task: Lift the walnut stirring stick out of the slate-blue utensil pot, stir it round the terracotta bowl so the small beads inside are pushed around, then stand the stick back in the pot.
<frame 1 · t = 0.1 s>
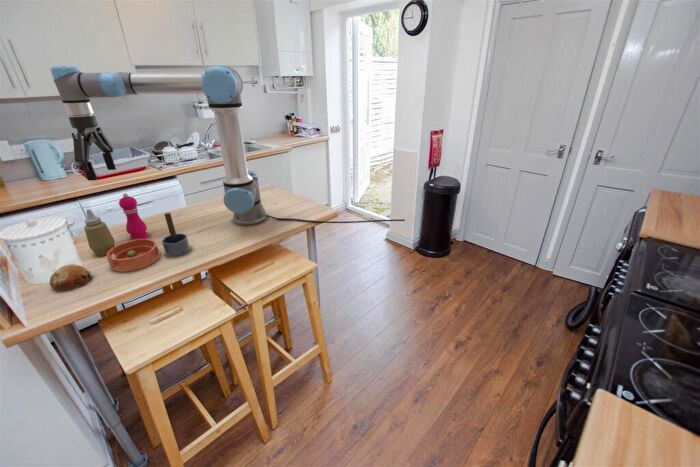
hand: (103, 174, 121), 28 cm above the table, tool pointing down, fingers open, 13 cm apart
bead a: (131, 254, 118), point 2 cm above the table, touching bowl
pepper mill: (140, 238, 134), on the table
bowl: (136, 261, 118), on the table
bread roll: (74, 282, 106), on the table
bead b: (138, 259, 115), point 2 cm above the table, touching bowl
squeeze bottle: (105, 252, 124), on the table
utensil pot: (178, 252, 124), on the table
stick: (178, 251, 124), resting on utensil pot
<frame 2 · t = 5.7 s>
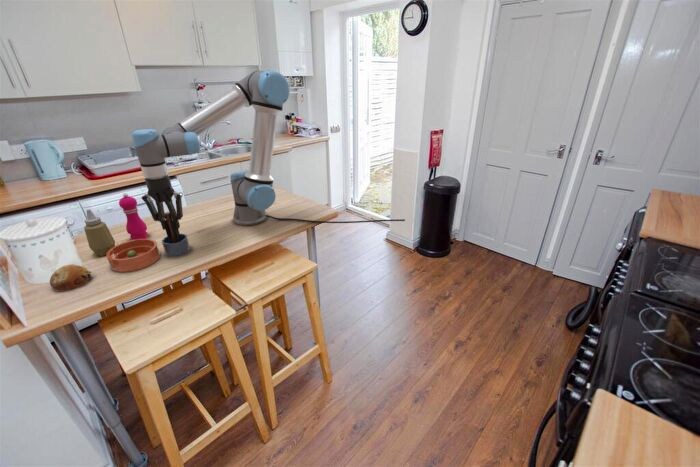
hand: (173, 236, 121), 7 cm above the table, tool pointing down, fingers closed on stick, 2 cm apart
stick: (178, 250, 124), point 1 cm above the table, touching gripper
everything else where it was.
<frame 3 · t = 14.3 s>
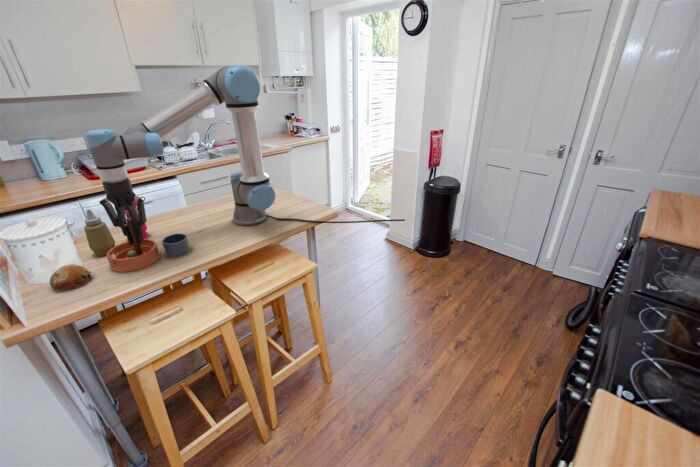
hand: (136, 242, 114), 8 cm above the table, tool pointing down, fingers closed on stick, 2 cm apart
bead b: (147, 256, 117), point 2 cm above the table, tilted 67°, touching bowl, stick
stick: (140, 258, 117), point 2 cm above the table, touching bead b, gripper
everything else where it was.
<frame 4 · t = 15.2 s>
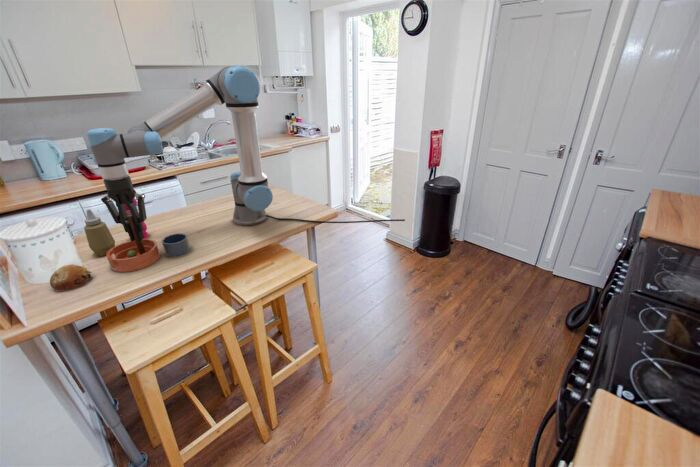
hand: (137, 239, 116), 8 cm above the table, tool pointing down, fingers closed on stick, 2 cm apart
bead b: (148, 254, 118), point 2 cm above the table, tilted 68°, touching bowl
stick: (143, 254, 119), point 2 cm above the table, touching gripper
everything else where it was.
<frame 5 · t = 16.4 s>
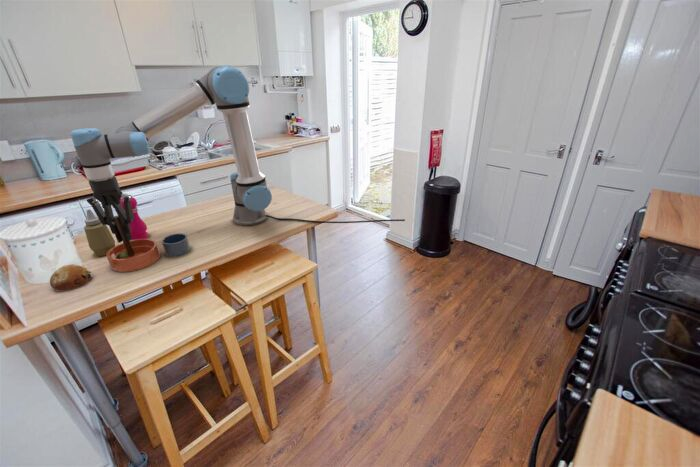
hand: (125, 240, 115), 8 cm above the table, tool pointing down, fingers closed on stick, 2 cm apart
bead a: (124, 256, 117), point 2 cm above the table, tilted 70°, touching bowl, stick
stick: (132, 255, 118), point 2 cm above the table, touching bead a, gripper
everything else where it was.
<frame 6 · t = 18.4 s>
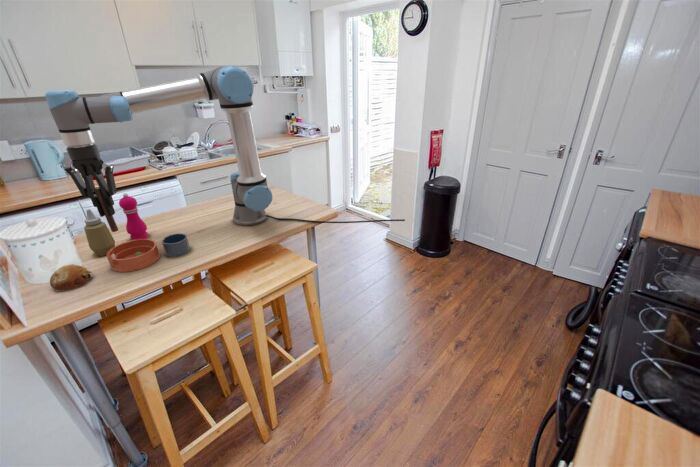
hand: (108, 214, 109), 19 cm above the table, tool pointing down, fingers closed on stick, 2 cm apart
bead a: (139, 255, 117), point 2 cm above the table, tilted 104°, touching bowl
bead b: (148, 255, 118), point 2 cm above the table, tilted 73°, touching bowl
stick: (115, 230, 112), point 13 cm above the table, touching gripper
everything else where it was.
when the fingers open (7 cm above the table, at t = 25.1 s): stick stays where it is, resting on utensil pot.
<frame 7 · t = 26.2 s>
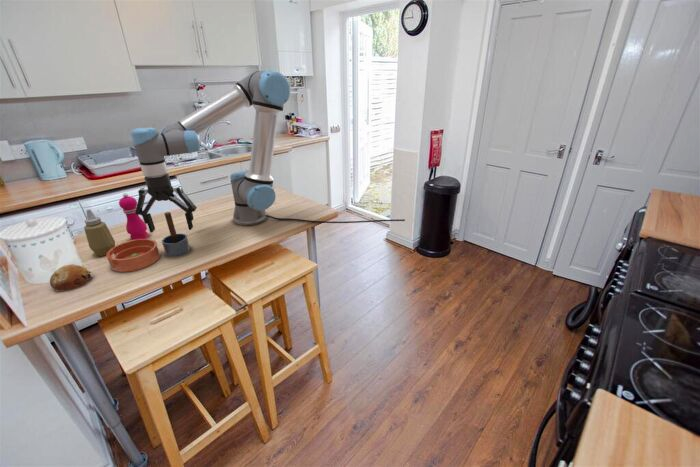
hand: (172, 229, 119), 10 cm above the table, tool pointing down, fingers open, 13 cm apart
bead a: (134, 257, 116), point 2 cm above the table, tilted 57°, touching bowl
bead b: (148, 255, 118), point 2 cm above the table, tilted 78°, touching bowl
stick: (178, 250, 124), resting on utensil pot
everything else where it was.
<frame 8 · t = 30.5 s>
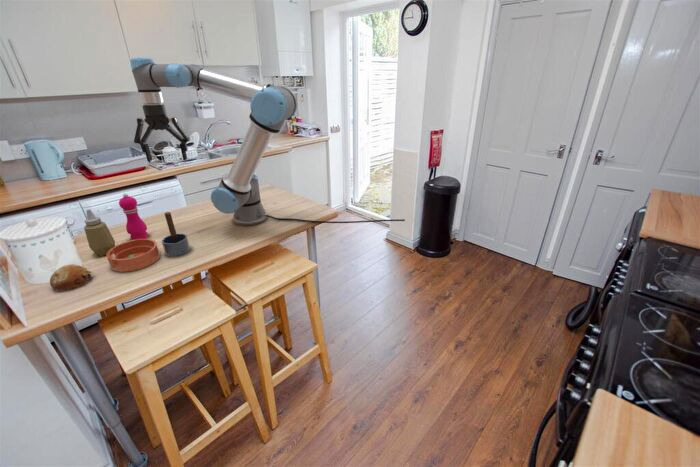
hand: (167, 160, 130), 31 cm above the table, tool pointing down, fingers open, 13 cm apart
bead a: (132, 258, 116), point 2 cm above the table, tilted 36°, touching bowl
everything else where it was.
at the end: bead a moved 3.5 cm from its start; bead a inside the target area in the bowl (1.3 cm from its centre), point 2.1 cm above the bowl's base; stick 0.4 cm off-centre in the utensil pot, point 0.5 cm above the utensil pot's base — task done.
